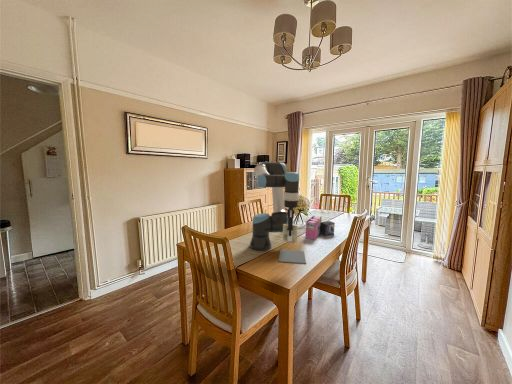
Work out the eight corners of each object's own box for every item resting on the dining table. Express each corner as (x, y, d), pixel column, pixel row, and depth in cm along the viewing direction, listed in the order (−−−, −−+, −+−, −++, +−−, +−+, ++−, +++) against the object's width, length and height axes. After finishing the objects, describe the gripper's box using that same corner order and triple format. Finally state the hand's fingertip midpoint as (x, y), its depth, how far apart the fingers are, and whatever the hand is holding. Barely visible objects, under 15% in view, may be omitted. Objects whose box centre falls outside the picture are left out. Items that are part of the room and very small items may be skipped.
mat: (278, 261, 129) (278, 260, 128) (280, 250, 146) (280, 249, 146) (306, 264, 126) (306, 263, 126) (303, 251, 144) (303, 251, 144)
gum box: (312, 230, 193) (313, 215, 191) (321, 231, 189) (322, 216, 187) (305, 237, 172) (305, 221, 170) (314, 239, 168) (315, 222, 167)
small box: (324, 236, 177) (325, 224, 175) (319, 234, 182) (320, 222, 181) (334, 234, 181) (335, 222, 180) (328, 232, 187) (329, 220, 186)
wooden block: (282, 242, 123) (283, 225, 121) (282, 240, 125) (283, 223, 124) (296, 243, 121) (297, 226, 120) (296, 241, 124) (297, 224, 122)
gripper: (298, 202, 112) (296, 245, 115) (297, 197, 127) (295, 236, 130) (284, 201, 113) (282, 244, 116) (284, 197, 128) (283, 235, 131)
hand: (289, 240), depth 123 cm, fingers closed on wooden block, 2 cm apart
